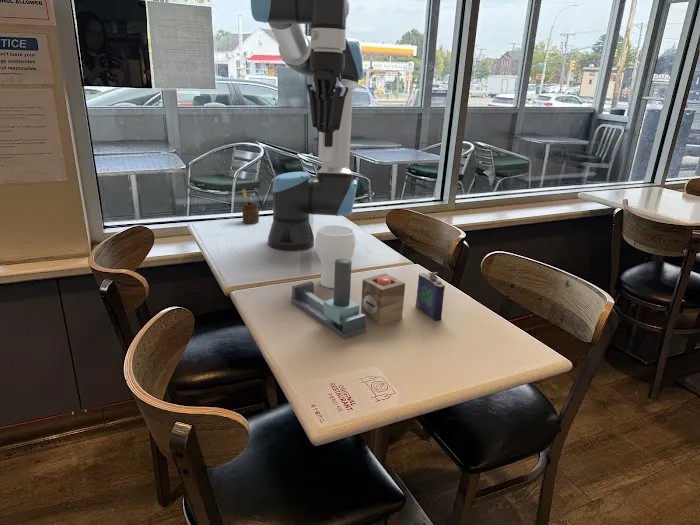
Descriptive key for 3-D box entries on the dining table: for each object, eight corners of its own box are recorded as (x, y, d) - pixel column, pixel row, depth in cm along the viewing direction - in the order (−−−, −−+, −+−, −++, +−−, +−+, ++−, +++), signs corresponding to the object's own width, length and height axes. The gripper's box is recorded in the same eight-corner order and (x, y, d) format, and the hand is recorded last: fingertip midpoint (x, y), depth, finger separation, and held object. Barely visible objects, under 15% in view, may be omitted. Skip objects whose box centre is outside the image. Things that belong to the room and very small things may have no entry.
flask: (413, 305, 124) (417, 266, 120) (422, 304, 125) (427, 264, 121) (434, 322, 116) (440, 280, 113) (445, 320, 118) (450, 278, 114)
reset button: (373, 295, 117) (374, 278, 115) (383, 292, 118) (384, 275, 117) (382, 300, 114) (383, 282, 113) (392, 297, 116) (393, 280, 114)
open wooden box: (358, 314, 118) (360, 279, 115) (382, 306, 123) (385, 273, 119) (377, 326, 113) (380, 290, 110) (402, 317, 118) (405, 283, 114)
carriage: (323, 314, 113) (324, 259, 108) (342, 308, 116) (345, 255, 111) (338, 325, 108) (341, 268, 103) (358, 318, 111) (362, 263, 107)
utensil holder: (251, 225, 181) (251, 192, 177) (238, 221, 184) (237, 190, 180) (262, 221, 186) (261, 190, 182) (249, 218, 189) (248, 187, 185)
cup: (306, 282, 135) (307, 229, 130) (333, 272, 142) (335, 222, 137) (334, 294, 128) (336, 239, 123) (361, 283, 136) (364, 231, 130)
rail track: (291, 301, 123) (291, 286, 122) (311, 296, 127) (311, 281, 125) (344, 339, 107) (345, 321, 106) (366, 331, 110) (367, 314, 109)
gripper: (297, 50, 110) (296, 157, 118) (331, 50, 101) (327, 166, 109) (324, 52, 114) (322, 155, 123) (359, 52, 105) (354, 163, 113)
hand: (324, 160), depth 116 cm, fingers closed
